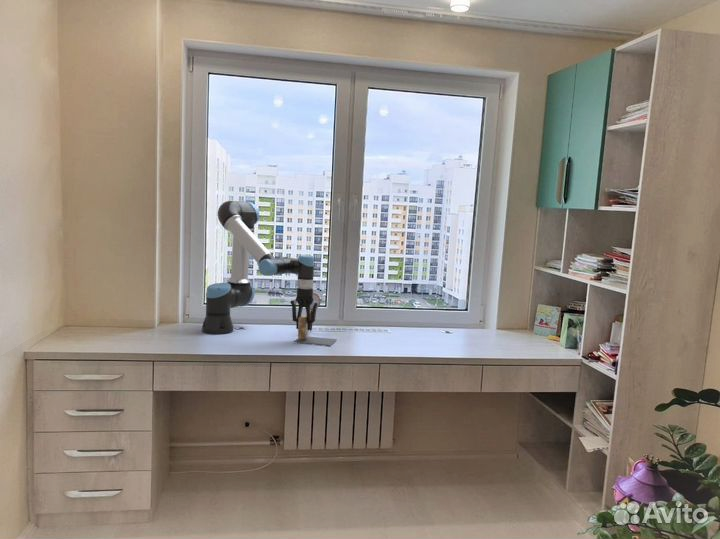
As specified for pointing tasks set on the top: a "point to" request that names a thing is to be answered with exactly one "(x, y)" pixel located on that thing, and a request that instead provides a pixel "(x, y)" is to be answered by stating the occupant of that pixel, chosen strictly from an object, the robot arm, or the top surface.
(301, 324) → the wooden block
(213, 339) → the top surface
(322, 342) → the mat
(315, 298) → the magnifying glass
